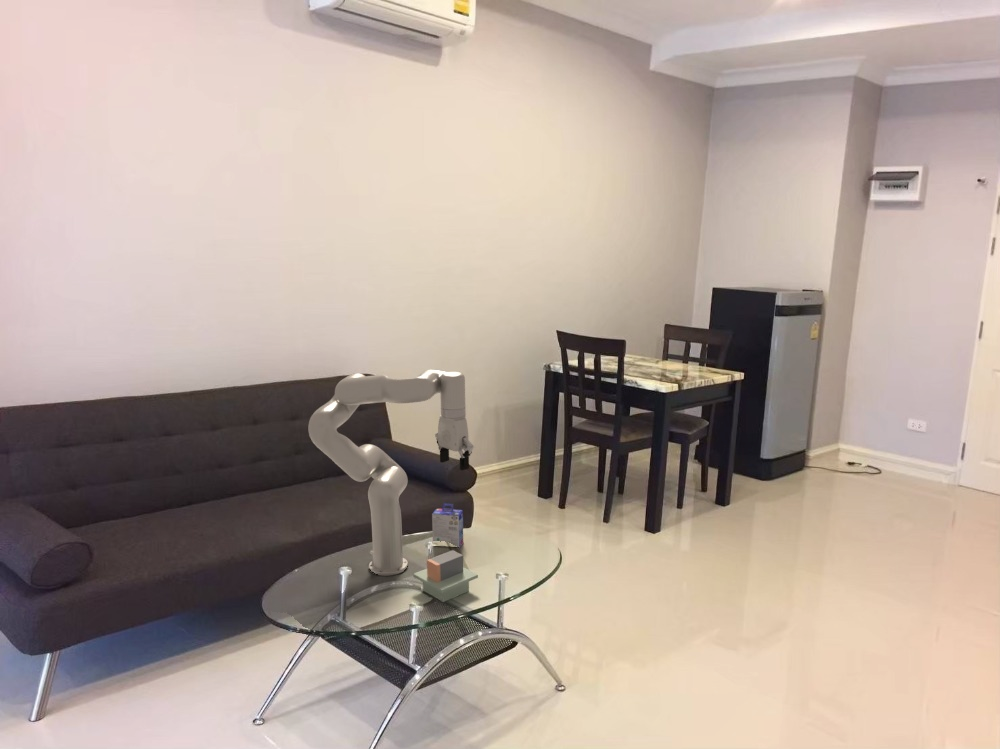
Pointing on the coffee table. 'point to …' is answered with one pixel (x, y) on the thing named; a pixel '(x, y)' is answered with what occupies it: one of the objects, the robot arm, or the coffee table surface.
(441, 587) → the stand
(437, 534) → the ink cartridge box
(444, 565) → the block
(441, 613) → the coffee table surface
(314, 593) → the coffee table surface
